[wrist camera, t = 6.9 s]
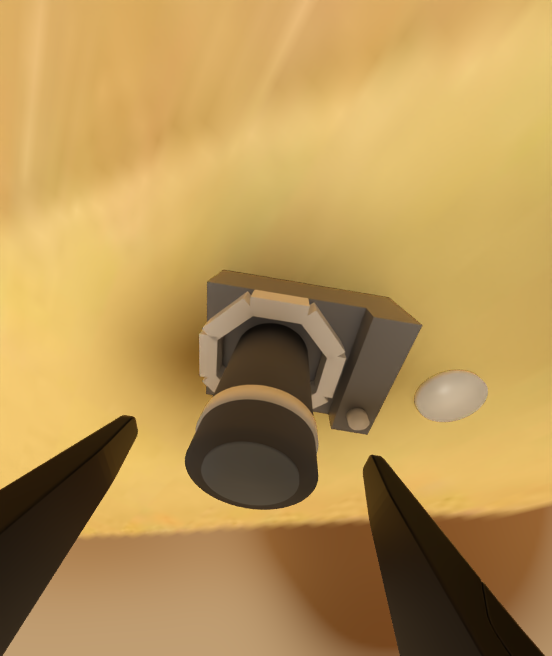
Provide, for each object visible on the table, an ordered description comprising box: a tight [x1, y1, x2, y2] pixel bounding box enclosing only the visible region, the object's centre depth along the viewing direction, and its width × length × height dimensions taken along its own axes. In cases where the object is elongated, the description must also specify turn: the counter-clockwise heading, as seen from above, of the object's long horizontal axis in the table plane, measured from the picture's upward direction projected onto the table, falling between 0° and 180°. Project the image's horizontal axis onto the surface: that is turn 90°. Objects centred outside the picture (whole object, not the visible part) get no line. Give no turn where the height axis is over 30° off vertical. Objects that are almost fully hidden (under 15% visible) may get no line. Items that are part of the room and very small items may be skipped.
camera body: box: [199, 270, 422, 435], centre depth 14 cm, size 11×8×5 cm
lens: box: [185, 323, 318, 510], centre depth 10 cm, size 5×5×7 cm
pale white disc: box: [414, 370, 488, 422], centre depth 18 cm, size 5×5×1 cm
